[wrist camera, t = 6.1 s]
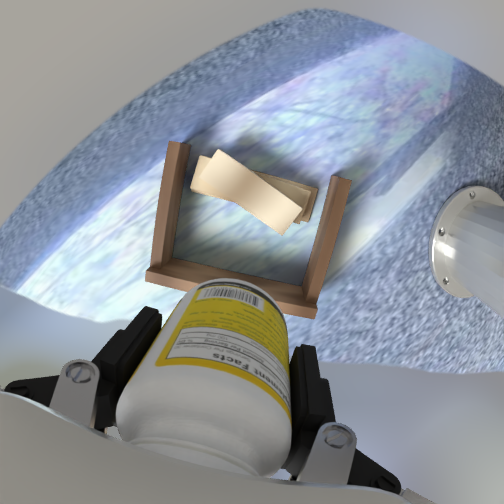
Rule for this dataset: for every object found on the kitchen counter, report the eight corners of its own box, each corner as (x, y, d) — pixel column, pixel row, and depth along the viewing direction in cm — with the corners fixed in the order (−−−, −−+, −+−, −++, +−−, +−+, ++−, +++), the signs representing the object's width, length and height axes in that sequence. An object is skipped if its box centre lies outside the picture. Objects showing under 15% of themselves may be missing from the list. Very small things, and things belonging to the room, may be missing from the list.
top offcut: (300, 206, 26) (302, 208, 25) (281, 232, 27) (282, 235, 25) (220, 149, 25) (218, 149, 23) (202, 176, 25) (198, 177, 24)
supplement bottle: (218, 384, 15) (174, 548, 6) (155, 307, 14) (41, 461, 5) (308, 344, 14) (327, 537, 5) (248, 252, 13) (183, 443, 4)
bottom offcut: (315, 187, 28) (318, 188, 27) (306, 219, 29) (308, 222, 27) (202, 157, 27) (199, 157, 26) (194, 190, 28) (191, 191, 27)
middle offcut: (309, 190, 27) (311, 191, 25) (297, 221, 28) (299, 224, 26) (202, 155, 26) (199, 155, 25) (193, 187, 27) (189, 188, 26)
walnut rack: (341, 178, 26) (355, 181, 22) (308, 297, 30) (314, 319, 26) (180, 143, 26) (164, 140, 22) (161, 264, 30) (145, 281, 25)
